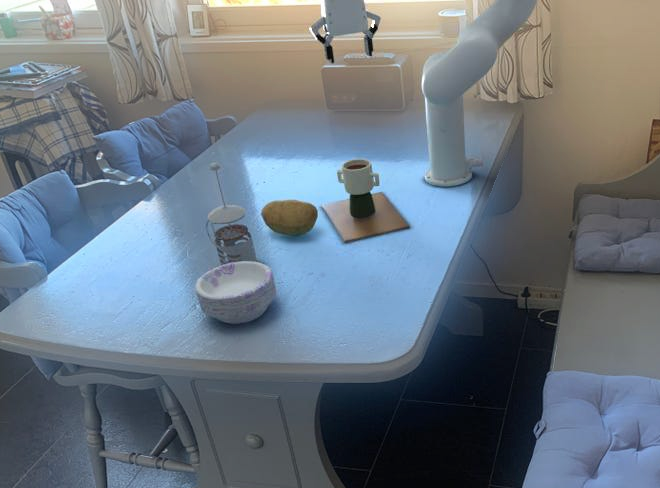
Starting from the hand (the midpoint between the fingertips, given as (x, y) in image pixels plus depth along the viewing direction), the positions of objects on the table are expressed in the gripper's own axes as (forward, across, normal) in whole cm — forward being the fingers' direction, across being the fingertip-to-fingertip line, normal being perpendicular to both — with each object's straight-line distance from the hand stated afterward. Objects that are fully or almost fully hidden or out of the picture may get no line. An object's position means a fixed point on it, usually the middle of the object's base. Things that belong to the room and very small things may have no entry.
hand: (350, 58), depth 184 cm
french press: (+32, +41, +31) cm, 60 cm away
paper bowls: (+32, +44, +49) cm, 73 cm away
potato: (+32, +25, +20) cm, 45 cm away
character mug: (+32, +8, +20) cm, 38 cm away
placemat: (+32, +7, +20) cm, 38 cm away
